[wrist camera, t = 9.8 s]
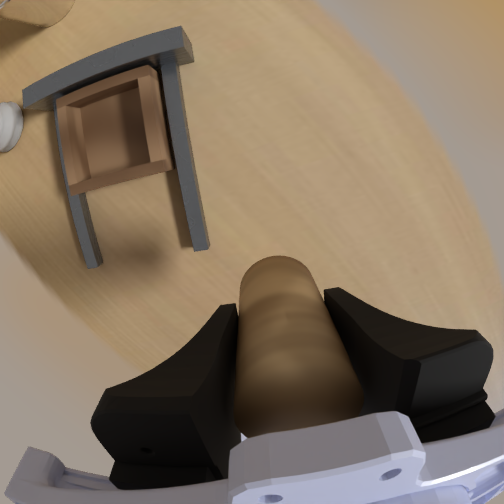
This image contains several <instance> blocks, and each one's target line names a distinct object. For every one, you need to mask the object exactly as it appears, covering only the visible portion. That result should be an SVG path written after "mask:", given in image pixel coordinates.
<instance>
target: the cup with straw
mask: <svg viewBox="0 0 504 504" xmlns="http://www.w3.org/2000/svg"><path fill="white" fill-rule="evenodd" d="M74 2H75V0H0V18H1V19H7V20H12V21H17V22H21V23H26V24H30V25H38V26H39V27H49V26H52V25H54V24H56V23H57V22H59V21H60V20H61V19H62V18H63V17H64V16H65V15H66V14H67V13H68V12H69V11H70V9H71V8H72V6H73V4H74Z"/></svg>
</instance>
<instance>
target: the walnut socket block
mask: <svg viewBox="0 0 504 504" xmlns="http://www.w3.org/2000/svg"><path fill="white" fill-rule="evenodd" d="M56 106H57V115H58V124H59V132H60V139H61V146H62V152H63V158H64V164H65V169H66V174H67V179H68V184H69V189H70V194H71V196H74V195H77V194H80V193H84V192H87V191H91V190H94V189H98V188H101V187H105V186H109V185H112V184H116V183H120V182H124V181H128V180H132V179H136V178H140V177H144V176H148V175H153V174H157V173H161V172H165V171H169V170H172V169H175V168H174V162H173V157H172V151H171V146H170V140H169V134H168V128H167V122H166V116H165V109H164V103H163V96H162V89H161V82H160V75H159V73H158V72H157V71H155V70H154V69H153V68H151V67H150V66H149V65H145V66H142V67H138V68H135V69H132V70H129V71H126V72H123V73H120V74H117V75H114V76H112V77H109V78H106V79H104V80H101V81H98V82H96V83H93V84H91V85H88V86H86V87H83V88H81V89H79V90H76V91H74V92H72V93H69V94H67V95H65V96H63V97H61V98H58V99H56Z"/></svg>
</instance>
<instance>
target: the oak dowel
mask: <svg viewBox="0 0 504 504" xmlns="http://www.w3.org/2000/svg"><path fill="white" fill-rule="evenodd" d="M363 403H364V393H363V389H362V387H361V384H360V382H359V380H358V377H357V375H356V373H355V370H354V368H353V366H352V363H351V361H350V359H349V356H348V354H347V352H346V349H345V347H344V345H343V343H342V340H341V338H340V336H339V334H338V331H337V329H336V327H335V325H334V322H333V320H332V318H331V316H330V314H329V311H328V309H327V307H326V305H325V303H324V301H323V298H322V296H321V294H320V292H319V290H318V288H317V285H316V283H315V281H314V279H313V277H312V275H311V273H310V271H309V270H308V269H307V267H306V266H305V265H304V264H302V263H301V262H299V261H298V260H296V259H294V258H291V257H287V256H271V257H267V258H264V259H262V260H260V261H258V262H256V263H255V264H253V265H252V266H251V267H250V268H249V269H248V270H247V272H246V273H245V275H244V277H243V279H242V281H241V285H240V298H239V316H238V333H237V352H236V370H235V390H234V410H233V417H234V422H235V424H236V426H237V428H238V429H239V431H240V432H241V433H242V434H243V435H244V436H245V437H247V438H251V437H255V436H259V435H263V434H267V433H272V432H280V431H288V430H294V429H301V428H307V427H313V426H318V425H324V424H329V423H334V422H338V421H343V420H347V419H352V418H356V417H358V415H359V414H360V412H361V410H362V407H363Z"/></svg>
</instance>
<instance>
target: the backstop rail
mask: <svg viewBox="0 0 504 504" xmlns="http://www.w3.org/2000/svg"><path fill="white" fill-rule="evenodd" d="M191 62H194V57H193V51H192V44H191V42H190V40H189V38H188V37H187V35H186V33H185V32H184V30H183V28H182V26H178V27H174V28H170V29H167V30H163V31H159V32H156V33H152V34H149V35H146V36H143V37H139V38H136V39H133V40H130V41H127V42H124V43H122V44H119V45H116V46H113V47H111V48H108V49H105V50H103V51H100V52H98V53H95V54H93V55H91V56H88V57H86V58H84V59H81V60H79V61H77V62H75V63H73V64H70V65H68V66H66V67H64V68H62V69H60V70H58V71H56V72H54V73H52V74H50V75H48V76H46V77H44V78H43V79H41V80H39V81H37V82H35V83H33V84H32V85H30V86H28V87H26V88H25V89H23V90H22V93H23V109H35V110H46V111H51V110H53V109H54V116H55V124H56V132H57V139H58V146H59V152H60V158H61V164H62V170H63V175H64V180H65V185H66V190H67V194H68V199H69V203H70V207H71V211H72V216H73V219H74V223H75V227H76V231H77V235H78V238H79V242H80V245H81V249H82V252H83V255H84V258H85V262H86V265H87V268H88V269H90V268H96V267H99V266H100V265H101V264H102V263H103V260H102V256H101V253H100V250H99V246H98V243H97V239H96V235H95V232H94V228H93V224H92V220H91V216H90V212H89V208H88V204H87V199H86V195H85V192H84V193H80V194H77V195H74V196H71V194H70V189H69V184H68V179H67V174H66V169H65V164H64V158H63V152H62V146H61V139H60V132H59V124H58V115H57V106H56V99H58V98H61V97H63V96H65V95H67V94H69V93H72V92H74V91H76V90H79V89H81V88H83V87H86V86H88V85H91V84H93V83H96V82H98V81H101V80H104V79H106V78H109V77H112V76H114V75H117V74H120V73H123V72H126V71H129V70H132V69H135V68H138V67H142V66H145V65H149V66H150V67H151V68H153V69H154V70H155V71H159V70H161V72H162V79H163V86H164V93H165V100H166V106H167V113H168V119H169V125H170V131H171V137H172V143H173V149H174V154H175V160H176V165H177V171H178V176H179V181H180V186H181V191H182V196H183V201H184V206H185V211H186V216H187V221H188V225H189V230H190V235H191V239H192V244H193V248H194V252H195V251H201V250H208V249H209V247H210V242H209V237H208V232H207V227H206V222H205V217H204V212H203V207H202V202H201V196H200V191H199V186H198V180H197V175H196V170H195V164H194V158H193V153H192V147H191V141H190V136H189V130H188V124H187V118H186V111H185V105H184V99H183V92H182V86H181V79H180V72H179V65H183V64H187V63H191Z"/></svg>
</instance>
